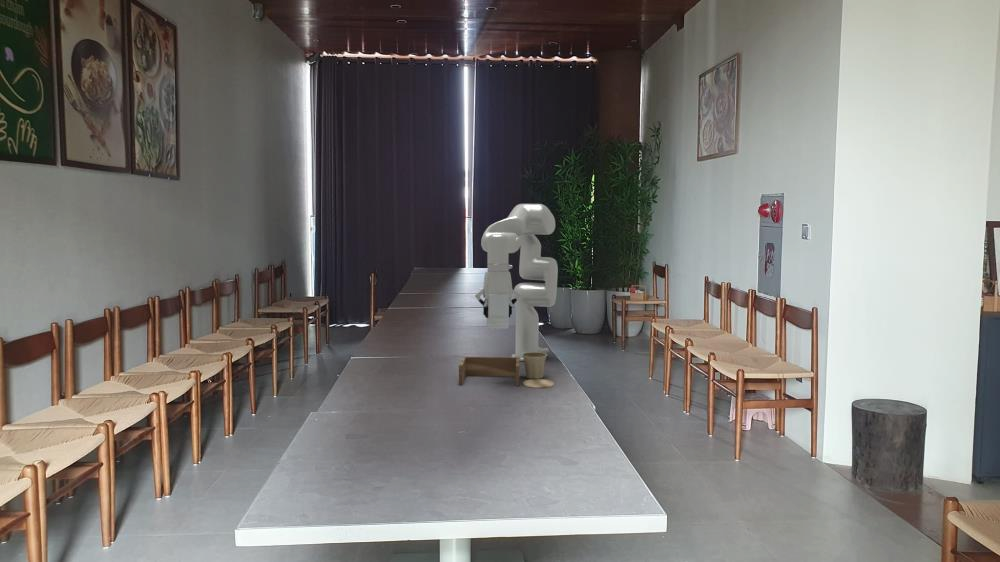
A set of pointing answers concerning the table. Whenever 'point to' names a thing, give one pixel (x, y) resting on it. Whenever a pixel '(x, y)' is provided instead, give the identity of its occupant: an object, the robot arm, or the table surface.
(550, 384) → the coaster
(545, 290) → the robot arm
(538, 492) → the table surface
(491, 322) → the supplement box
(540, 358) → the flower pot
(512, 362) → the brown angled piece
